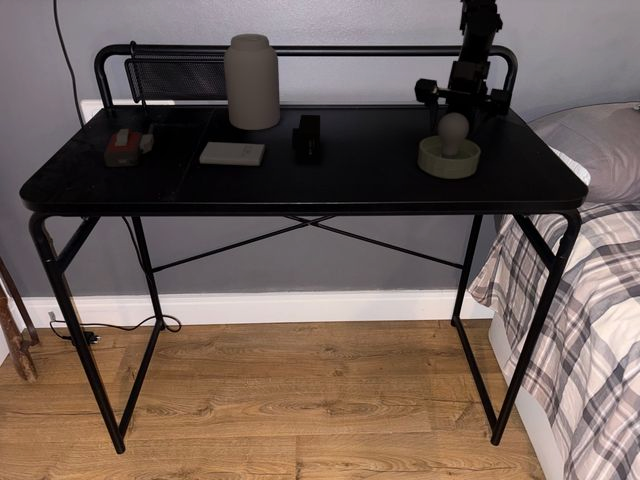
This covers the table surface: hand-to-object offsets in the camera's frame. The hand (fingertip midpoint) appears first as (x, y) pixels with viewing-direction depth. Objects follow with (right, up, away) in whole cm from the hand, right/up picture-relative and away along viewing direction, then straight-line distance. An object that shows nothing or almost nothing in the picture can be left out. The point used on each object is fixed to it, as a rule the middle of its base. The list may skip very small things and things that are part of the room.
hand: (450, 135), depth 100 cm
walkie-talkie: (-67, -1, +11) cm, 68 cm away
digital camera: (-29, -2, +10) cm, 31 cm away
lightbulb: (0, -5, +5) cm, 7 cm away
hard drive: (-45, -3, +8) cm, 46 cm away
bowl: (0, -6, +5) cm, 8 cm away
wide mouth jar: (-42, +8, +25) cm, 50 cm away
